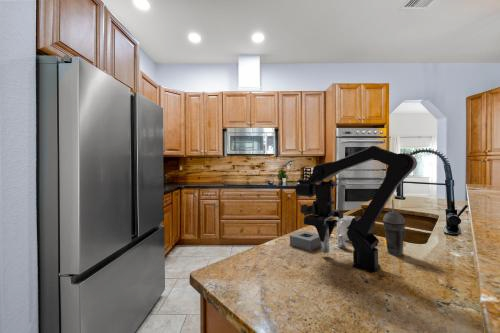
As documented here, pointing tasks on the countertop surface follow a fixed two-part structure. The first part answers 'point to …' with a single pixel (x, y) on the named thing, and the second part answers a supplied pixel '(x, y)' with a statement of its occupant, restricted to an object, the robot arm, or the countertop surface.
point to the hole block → (305, 240)
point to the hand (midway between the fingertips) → (324, 240)
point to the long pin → (325, 243)
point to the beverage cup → (394, 231)
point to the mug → (344, 225)
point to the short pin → (341, 241)
